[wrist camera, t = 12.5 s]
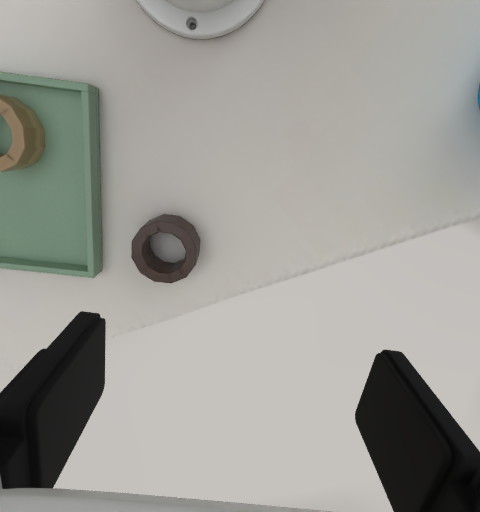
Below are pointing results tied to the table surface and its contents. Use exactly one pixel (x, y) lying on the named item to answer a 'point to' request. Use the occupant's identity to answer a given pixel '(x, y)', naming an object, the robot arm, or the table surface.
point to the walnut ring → (154, 265)
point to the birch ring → (21, 135)
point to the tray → (53, 182)
